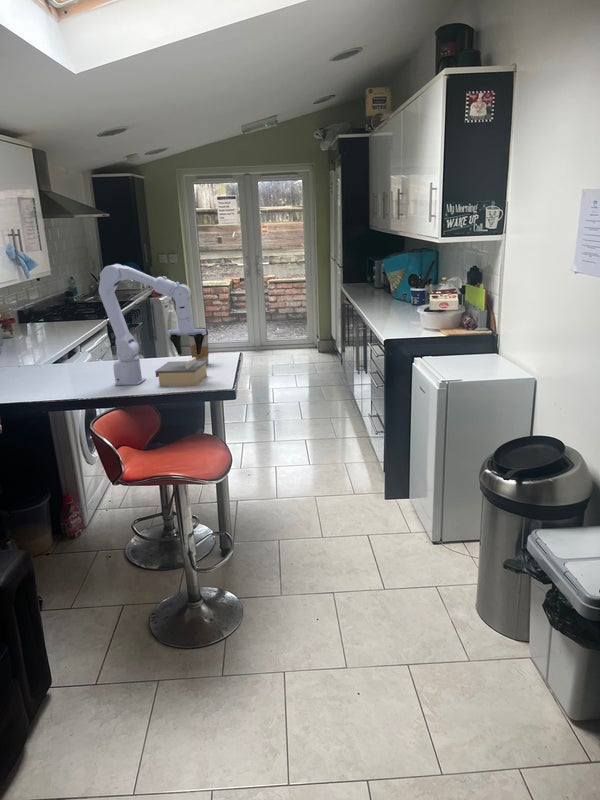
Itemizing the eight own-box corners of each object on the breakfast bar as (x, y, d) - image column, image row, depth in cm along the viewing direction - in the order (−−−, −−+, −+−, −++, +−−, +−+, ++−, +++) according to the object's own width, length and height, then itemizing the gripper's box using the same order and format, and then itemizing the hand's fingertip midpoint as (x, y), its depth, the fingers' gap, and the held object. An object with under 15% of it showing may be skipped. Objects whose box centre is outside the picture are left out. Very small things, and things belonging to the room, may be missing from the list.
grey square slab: (156, 377, 222) (154, 365, 221) (169, 367, 236) (167, 356, 235) (196, 376, 220) (194, 364, 219) (207, 366, 234) (205, 355, 233)
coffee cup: (187, 366, 251) (184, 331, 247) (195, 362, 259) (192, 327, 254) (206, 367, 249) (203, 331, 245) (213, 362, 257) (211, 327, 252)
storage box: (159, 386, 224) (158, 373, 222) (172, 376, 237) (170, 364, 235) (196, 385, 222) (195, 372, 220) (206, 375, 235) (205, 363, 233)
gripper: (207, 315, 226) (211, 351, 230) (171, 316, 229) (175, 352, 233) (200, 318, 219) (204, 355, 223) (163, 320, 222) (168, 356, 226)
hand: (189, 354), depth 227 cm, fingers open, 7 cm apart
